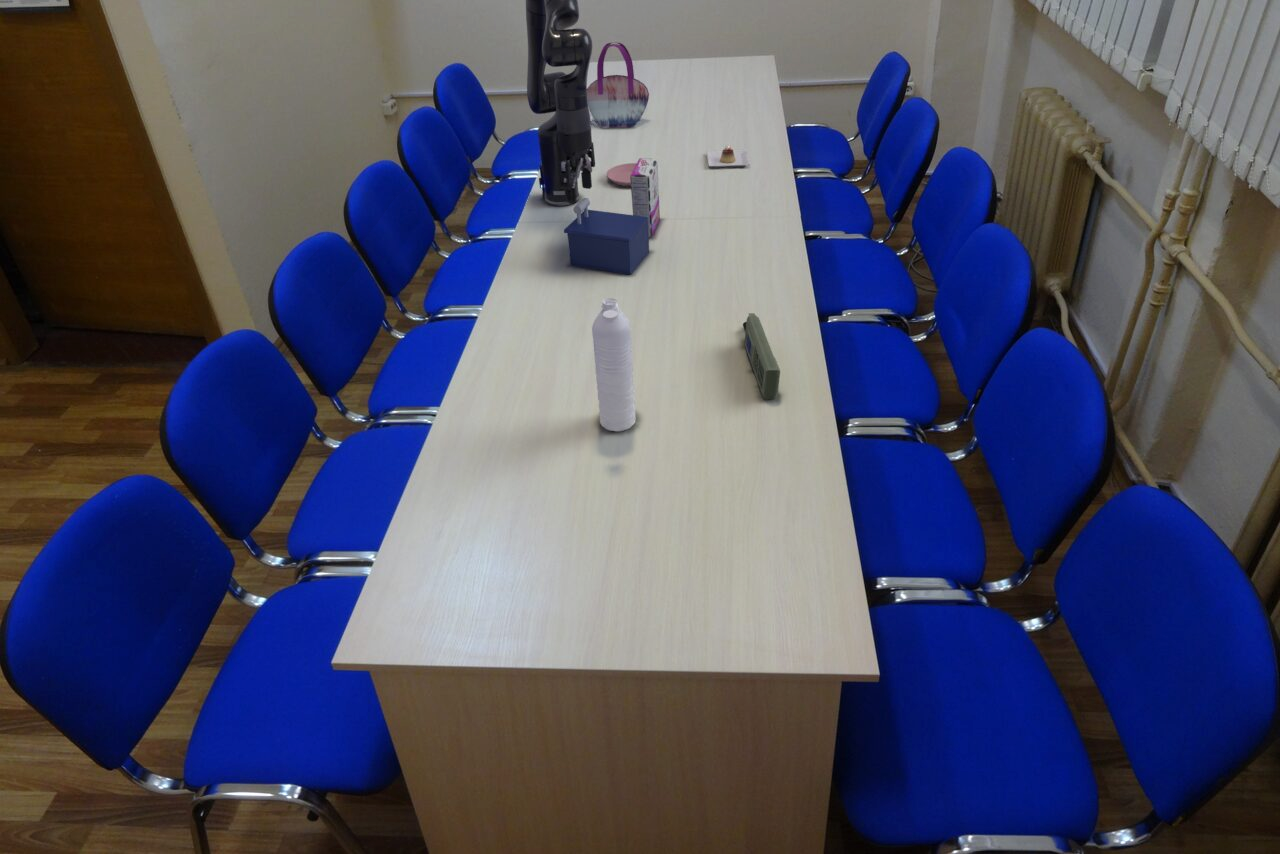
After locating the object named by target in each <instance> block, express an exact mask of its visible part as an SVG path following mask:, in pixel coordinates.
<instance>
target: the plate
mask: <svg viewBox="0 0 1280 854" xmlns="http://www.w3.org/2000/svg"><path fill="white" fill-rule="evenodd" d="M636 164H637V162H635V163H634V162H633V163H631V162H629V163H622V164H619V165H616V166H613V167H610V169H608V170H607V171H606V177H607V178H608V179H609V180H610V181H612V182H613V183H614V184H615V185H618V186H621V187H631V178H630V175H631V173H632V172H633V170H634V168H635V166H636Z"/></svg>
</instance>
